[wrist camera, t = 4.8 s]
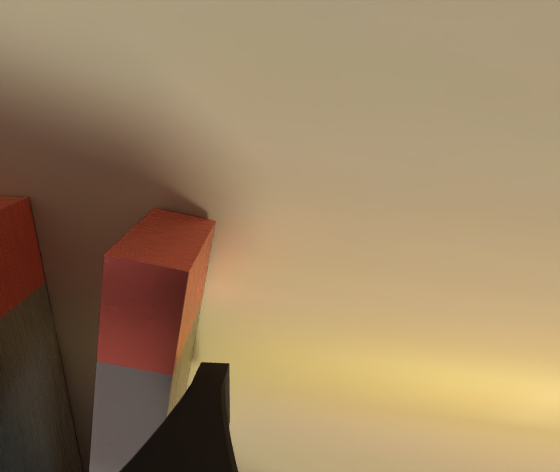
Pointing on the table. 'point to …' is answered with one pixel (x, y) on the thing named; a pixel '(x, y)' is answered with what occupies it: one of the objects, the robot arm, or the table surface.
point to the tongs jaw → (146, 331)
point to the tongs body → (30, 356)
